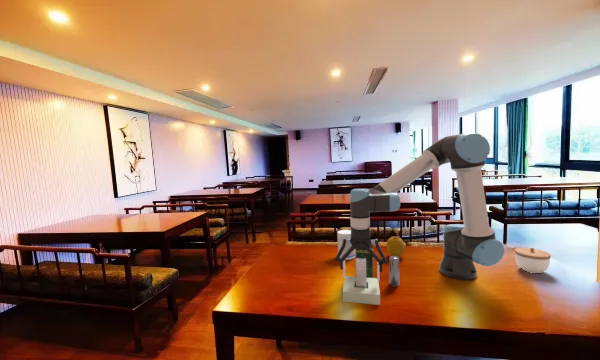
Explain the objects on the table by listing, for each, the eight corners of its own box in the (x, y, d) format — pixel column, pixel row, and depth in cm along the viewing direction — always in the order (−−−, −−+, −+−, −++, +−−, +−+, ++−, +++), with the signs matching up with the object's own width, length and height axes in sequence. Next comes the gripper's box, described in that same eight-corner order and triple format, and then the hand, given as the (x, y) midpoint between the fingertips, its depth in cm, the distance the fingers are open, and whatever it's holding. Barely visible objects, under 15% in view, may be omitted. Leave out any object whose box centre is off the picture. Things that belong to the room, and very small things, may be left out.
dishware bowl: (548, 279, 114) (549, 254, 113) (511, 270, 124) (512, 248, 123) (551, 270, 122) (552, 247, 122) (517, 263, 132) (517, 242, 131)
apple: (384, 253, 151) (384, 234, 150) (402, 254, 150) (402, 234, 149) (388, 260, 142) (387, 239, 141) (406, 260, 140) (406, 239, 139)
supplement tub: (358, 256, 148) (358, 231, 147) (348, 261, 141) (348, 235, 140) (344, 253, 155) (343, 228, 154) (334, 257, 148) (333, 232, 147)
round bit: (398, 282, 116) (398, 256, 115) (399, 286, 112) (399, 259, 111) (389, 281, 117) (389, 255, 116) (390, 286, 113) (389, 259, 112)
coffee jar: (373, 284, 115) (373, 243, 114) (355, 282, 117) (354, 242, 116) (372, 274, 125) (372, 236, 123) (356, 273, 127) (355, 236, 125)
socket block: (378, 287, 112) (378, 278, 112) (380, 305, 99) (380, 294, 98) (345, 284, 116) (345, 275, 115) (342, 301, 102) (342, 291, 102)
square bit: (366, 291, 109) (366, 258, 108) (366, 296, 105) (366, 262, 104) (356, 290, 110) (356, 258, 109) (356, 295, 106) (355, 261, 105)
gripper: (391, 225, 106) (392, 276, 107) (330, 224, 112) (331, 272, 113) (393, 230, 98) (394, 284, 100) (328, 228, 105) (329, 279, 106)
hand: (361, 278), depth 107 cm, fingers open, 13 cm apart
